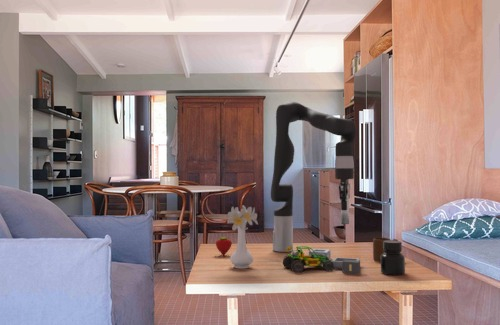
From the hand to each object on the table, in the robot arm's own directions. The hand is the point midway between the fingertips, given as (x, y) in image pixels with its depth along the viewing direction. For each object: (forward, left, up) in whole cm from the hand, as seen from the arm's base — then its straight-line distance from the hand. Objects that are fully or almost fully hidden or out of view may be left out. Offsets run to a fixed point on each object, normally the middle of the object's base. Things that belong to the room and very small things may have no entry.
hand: (344, 209), depth 187 cm
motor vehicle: (-14, -7, -24) cm, 29 cm away
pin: (0, 0, -6) cm, 6 cm away
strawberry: (-58, +10, -24) cm, 64 cm away
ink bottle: (+19, -5, -24) cm, 30 cm away
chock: (+4, -9, -24) cm, 25 cm away
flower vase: (-39, -14, -24) cm, 48 cm away
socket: (-13, +13, -23) cm, 30 cm away
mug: (+15, +21, -24) cm, 35 cm away
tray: (0, 0, -23) cm, 23 cm away
